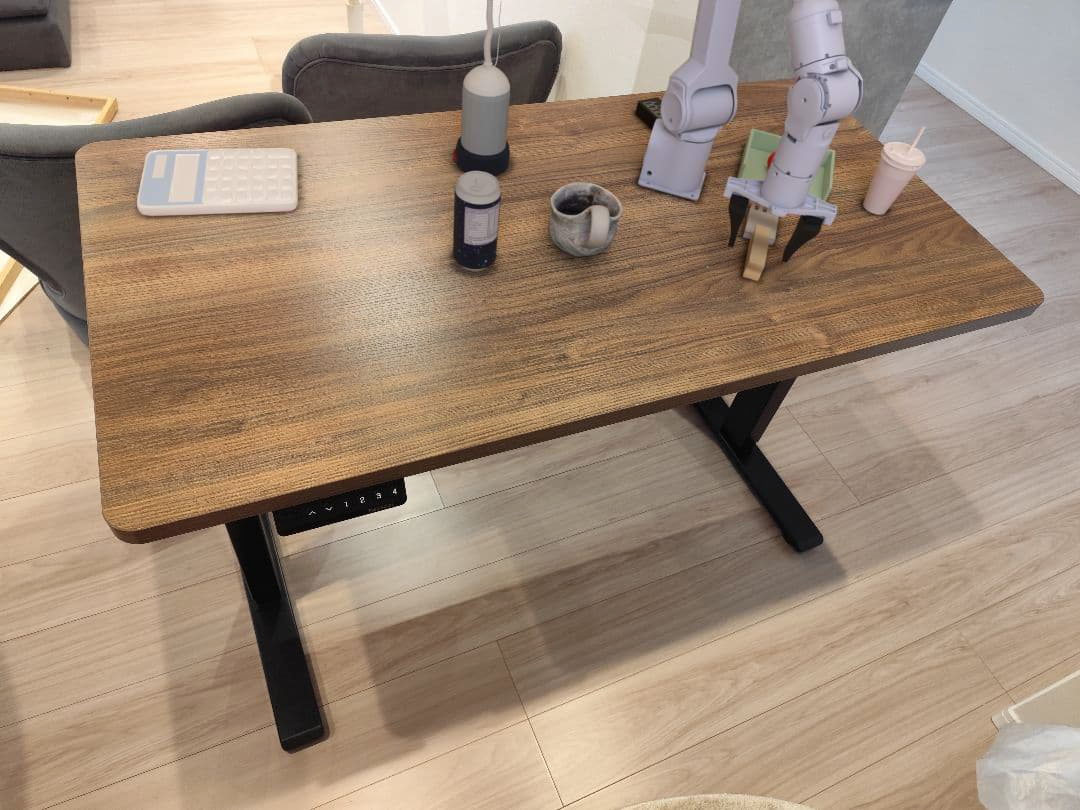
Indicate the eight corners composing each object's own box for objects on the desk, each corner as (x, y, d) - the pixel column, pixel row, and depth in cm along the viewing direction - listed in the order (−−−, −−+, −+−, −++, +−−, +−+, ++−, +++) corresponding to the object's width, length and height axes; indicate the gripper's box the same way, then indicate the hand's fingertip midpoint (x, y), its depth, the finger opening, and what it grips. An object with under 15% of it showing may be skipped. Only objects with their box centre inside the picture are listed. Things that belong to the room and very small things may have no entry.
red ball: (767, 154, 116) (776, 142, 117) (760, 173, 119) (769, 161, 120) (788, 163, 115) (797, 151, 116) (781, 181, 118) (789, 169, 119)
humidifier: (444, 156, 112) (446, -20, 92) (486, 141, 115) (497, -31, 96) (476, 183, 108) (486, 6, 89) (519, 167, 112) (537, -6, 93)
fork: (765, 283, 101) (772, 268, 99) (734, 274, 102) (741, 258, 99) (777, 215, 112) (784, 199, 110) (749, 207, 112) (755, 191, 110)
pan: (823, 205, 115) (832, 187, 112) (736, 181, 116) (743, 163, 114) (829, 142, 128) (837, 124, 125) (751, 121, 129) (757, 103, 127)
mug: (598, 220, 106) (612, 159, 98) (632, 277, 99) (649, 216, 91) (535, 227, 103) (544, 165, 95) (565, 287, 96) (577, 224, 88)
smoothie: (896, 223, 114) (945, 142, 103) (856, 214, 114) (900, 132, 103) (892, 200, 118) (938, 119, 107) (853, 191, 118) (895, 110, 108)
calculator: (298, 212, 99) (296, 200, 98) (138, 218, 95) (133, 205, 94) (297, 156, 107) (296, 144, 106) (149, 159, 103) (145, 147, 102)
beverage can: (501, 254, 99) (508, 177, 89) (486, 279, 95) (491, 201, 86) (462, 241, 99) (465, 164, 90) (445, 266, 96) (447, 188, 87)
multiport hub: (654, 109, 128) (657, 96, 126) (691, 142, 122) (695, 129, 121) (633, 113, 126) (636, 100, 124) (670, 147, 121) (673, 134, 119)
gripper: (734, 166, 91) (703, 252, 101) (851, 197, 89) (807, 282, 100) (741, 138, 95) (711, 223, 105) (852, 168, 93) (810, 251, 104)
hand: (758, 250), depth 103 cm, fingers open, 7 cm apart
